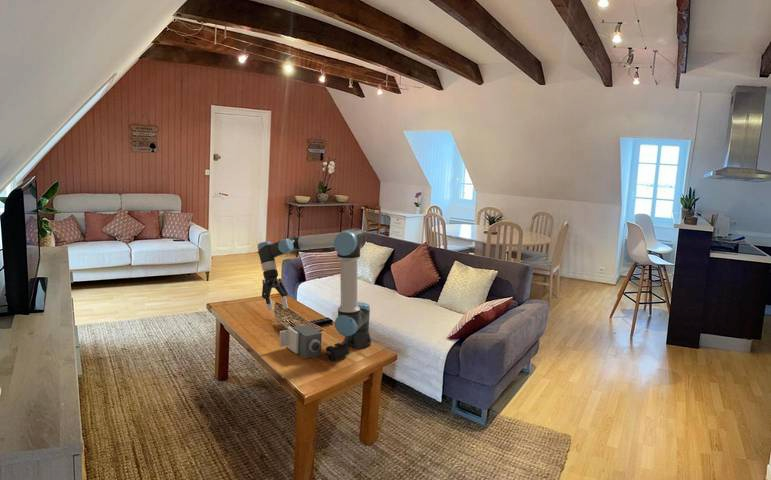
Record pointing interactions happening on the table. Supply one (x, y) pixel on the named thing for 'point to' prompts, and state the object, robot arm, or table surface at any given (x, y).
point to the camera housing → (308, 341)
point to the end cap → (337, 351)
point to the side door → (289, 339)
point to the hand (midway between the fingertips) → (278, 309)
